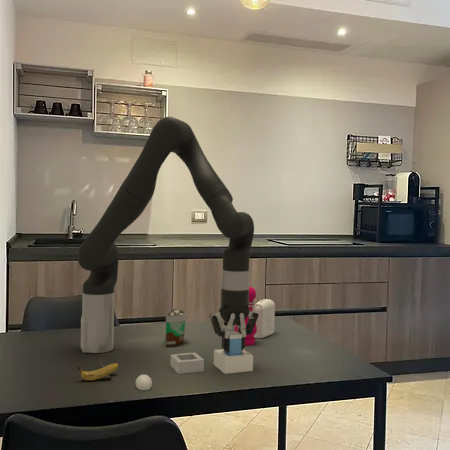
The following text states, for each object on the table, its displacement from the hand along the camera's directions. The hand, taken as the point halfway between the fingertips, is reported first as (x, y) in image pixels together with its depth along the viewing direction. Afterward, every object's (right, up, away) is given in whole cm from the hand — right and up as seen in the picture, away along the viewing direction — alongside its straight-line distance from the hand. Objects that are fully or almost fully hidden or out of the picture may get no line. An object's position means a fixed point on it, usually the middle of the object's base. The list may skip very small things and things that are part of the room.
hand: (233, 350), depth 142 cm
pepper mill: (+4, -5, +29) cm, 30 cm away
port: (0, -6, 0) cm, 6 cm away
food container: (-17, -4, +27) cm, 32 cm away
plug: (0, -4, 0) cm, 4 cm away
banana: (-34, -5, -9) cm, 36 cm away
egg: (-22, -6, -16) cm, 28 cm away
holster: (-12, -5, -2) cm, 14 cm away
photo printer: (+11, -4, +39) cm, 41 cm away
